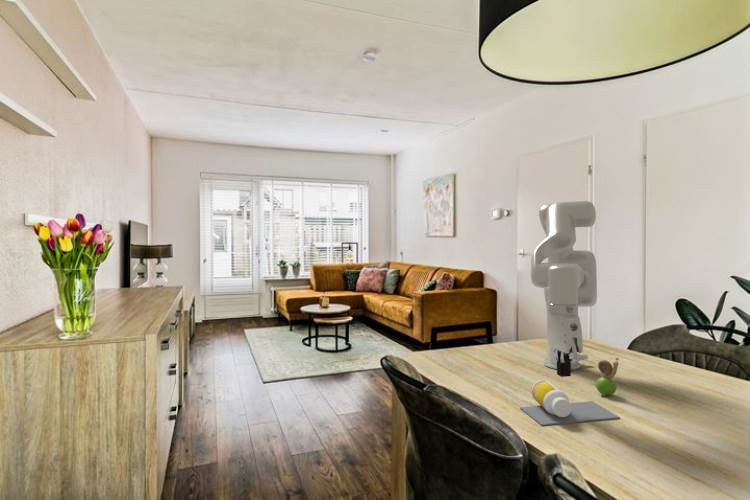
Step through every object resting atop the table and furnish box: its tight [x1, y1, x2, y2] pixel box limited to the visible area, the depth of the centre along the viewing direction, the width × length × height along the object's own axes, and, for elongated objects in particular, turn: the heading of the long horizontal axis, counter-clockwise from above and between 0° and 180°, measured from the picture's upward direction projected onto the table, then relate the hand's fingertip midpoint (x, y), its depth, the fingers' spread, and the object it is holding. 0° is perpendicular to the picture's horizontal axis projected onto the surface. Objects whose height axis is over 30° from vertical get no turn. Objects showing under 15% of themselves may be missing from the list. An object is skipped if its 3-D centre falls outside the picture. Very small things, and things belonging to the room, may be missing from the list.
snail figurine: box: [595, 357, 619, 397], centre depth 125 cm, size 5×6×12 cm
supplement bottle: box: [531, 379, 572, 417], centre depth 114 cm, size 7×7×13 cm
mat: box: [519, 400, 621, 427], centre depth 113 cm, size 22×11×1 cm, turn 98°
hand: (563, 375), depth 117 cm, fingers closed
